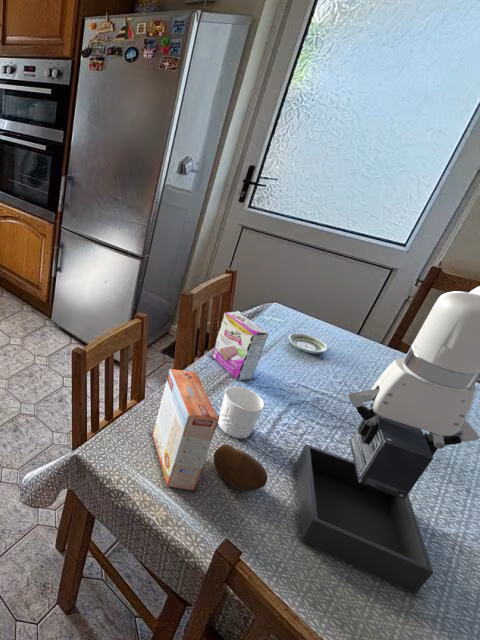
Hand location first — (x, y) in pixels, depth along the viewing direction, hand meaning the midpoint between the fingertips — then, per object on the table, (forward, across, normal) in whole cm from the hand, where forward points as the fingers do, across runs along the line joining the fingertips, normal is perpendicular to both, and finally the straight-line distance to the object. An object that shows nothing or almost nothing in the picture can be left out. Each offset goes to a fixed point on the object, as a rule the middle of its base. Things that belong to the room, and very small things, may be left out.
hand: (390, 446), depth 72 cm
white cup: (+21, +20, -14) cm, 32 cm away
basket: (+21, 0, 0) cm, 21 cm away
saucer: (+21, +3, -62) cm, 65 cm away
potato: (+21, +19, +2) cm, 28 cm away
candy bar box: (+21, +22, -39) cm, 49 cm away
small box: (+6, 0, 0) cm, 6 cm away
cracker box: (+21, +31, +4) cm, 38 cm away
